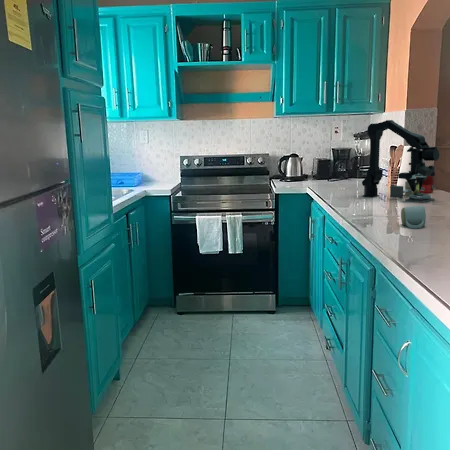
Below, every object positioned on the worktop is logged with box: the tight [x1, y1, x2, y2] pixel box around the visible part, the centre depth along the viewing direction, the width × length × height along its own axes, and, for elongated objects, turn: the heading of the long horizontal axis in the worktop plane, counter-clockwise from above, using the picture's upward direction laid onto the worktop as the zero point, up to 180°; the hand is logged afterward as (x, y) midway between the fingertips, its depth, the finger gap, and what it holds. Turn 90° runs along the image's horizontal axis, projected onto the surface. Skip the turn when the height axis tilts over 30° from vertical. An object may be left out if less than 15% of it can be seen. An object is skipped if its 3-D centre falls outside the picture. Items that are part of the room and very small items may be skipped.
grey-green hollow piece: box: [403, 180, 416, 198], centre depth 249 cm, size 7×6×8 cm
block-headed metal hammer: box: [389, 185, 413, 199], centre depth 246 cm, size 6×18×6 cm, turn 125°
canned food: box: [419, 176, 435, 195], centre depth 260 cm, size 8×8×11 cm
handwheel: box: [408, 182, 432, 200], centre depth 233 cm, size 10×10×8 cm
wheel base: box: [404, 197, 435, 204], centre depth 234 cm, size 10×10×1 cm
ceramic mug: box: [400, 205, 427, 230], centre depth 175 cm, size 11×8×8 cm
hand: (416, 191), depth 236 cm, fingers open, 3 cm apart
